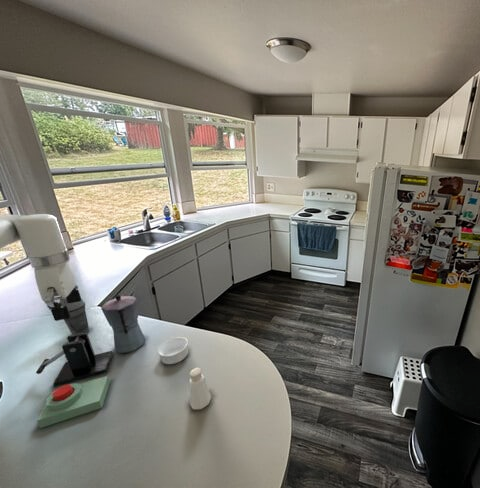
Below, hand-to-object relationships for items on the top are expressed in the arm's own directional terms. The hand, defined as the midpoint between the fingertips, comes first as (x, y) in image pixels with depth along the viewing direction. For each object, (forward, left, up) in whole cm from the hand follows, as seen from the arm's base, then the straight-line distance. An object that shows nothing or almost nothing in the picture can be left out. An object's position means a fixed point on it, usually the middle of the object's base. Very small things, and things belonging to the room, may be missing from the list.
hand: (69, 310), depth 76 cm
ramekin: (+25, -10, -20) cm, 34 cm away
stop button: (0, -18, -16) cm, 24 cm away
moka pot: (+11, +3, -20) cm, 23 cm away
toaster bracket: (0, -4, -20) cm, 20 cm away
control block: (+2, -18, -20) cm, 27 cm away
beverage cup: (-7, +18, -20) cm, 28 cm away
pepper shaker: (+32, -32, -20) cm, 50 cm away
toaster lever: (-3, -4, -13) cm, 14 cm away
